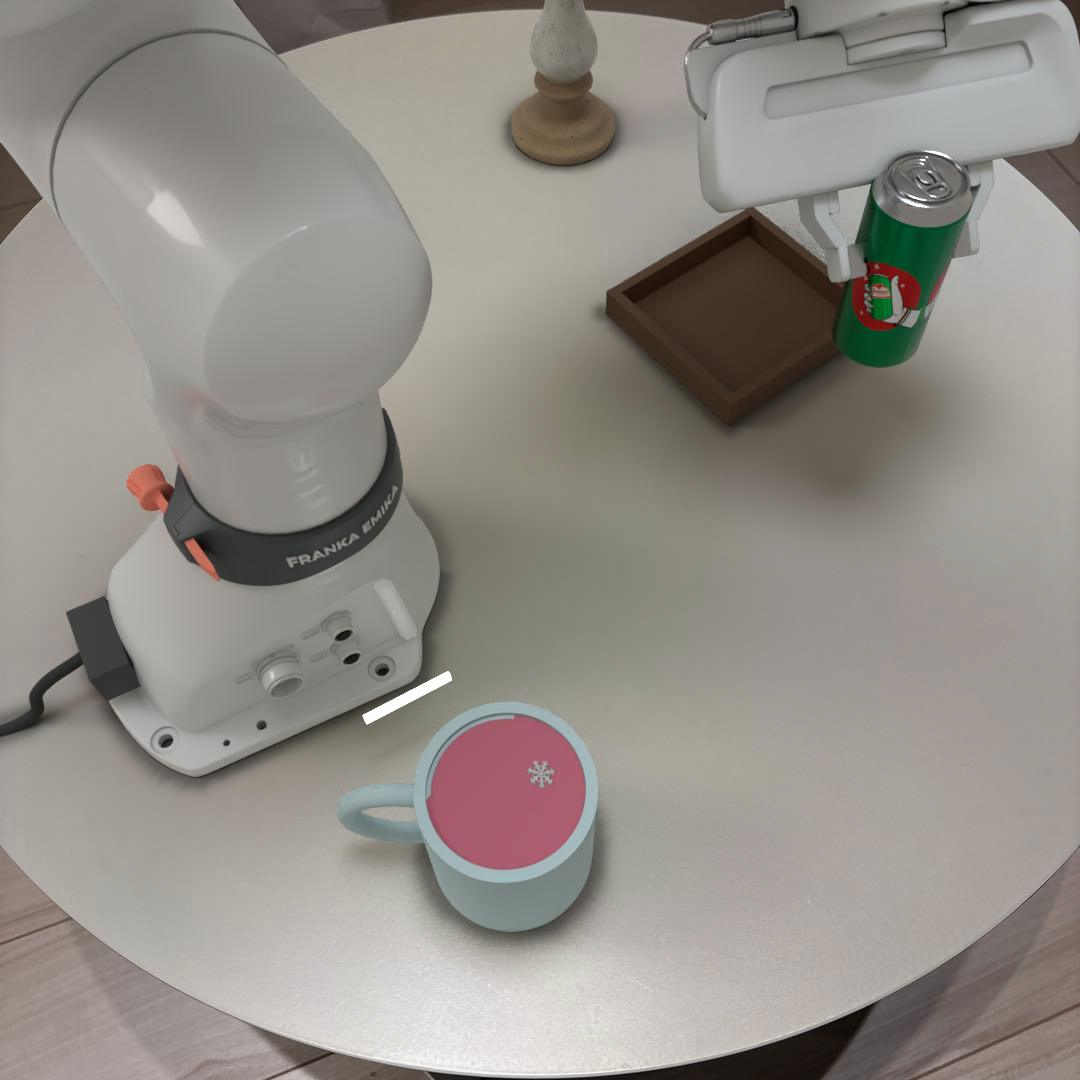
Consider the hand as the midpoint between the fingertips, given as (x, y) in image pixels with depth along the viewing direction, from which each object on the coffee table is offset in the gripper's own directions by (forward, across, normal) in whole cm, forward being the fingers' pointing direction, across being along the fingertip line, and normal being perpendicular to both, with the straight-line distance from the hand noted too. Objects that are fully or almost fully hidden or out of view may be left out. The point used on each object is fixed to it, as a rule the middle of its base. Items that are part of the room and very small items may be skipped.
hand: (904, 268), depth 61 cm
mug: (+27, -29, +1) cm, 40 cm away
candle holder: (-14, -9, +42) cm, 45 cm away
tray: (+3, -2, +25) cm, 25 cm away
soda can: (+4, 0, +5) cm, 7 cm away
